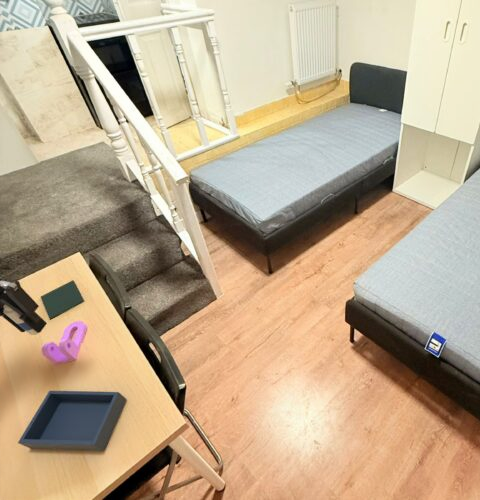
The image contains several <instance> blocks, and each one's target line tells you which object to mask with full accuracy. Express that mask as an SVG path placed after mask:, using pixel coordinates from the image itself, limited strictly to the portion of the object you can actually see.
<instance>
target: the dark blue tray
mask: <svg viewBox="0 0 480 500" xmlns="http://www.w3.org/2000/svg"><path fill="white" fill-rule="evenodd" d="M126 402H127V398H126V397H125V396H124V395H123V394H122V393H120V391H94V390H92V391H90V390H89V391H88V390H87V391H86V390H48V392H47V394H46V395H45V397H44V399H43V400H42V402H41V404H40V405H39V407H38V409H37V410H36V412H35V413H34V415H33V417H32V419H31V420H30V422H29V423H28V425H27V426H26V428H25V430H24V432H23V434H21V436H20V438H19V440H18V442H17V444H19V445H22V446H23V447H26V448H27V449H30V450H52V451H53V450H55V451H56V450H57V451H88V452H89V451H91V452H92V451H93V452H105V451H106V448H107V447H108V444H109V442H110V439H111V437H112V434H113V432H114V430H115V428H116V426H117V423H118V421H119V419H120V416H121V414H122V411H123V409H124V407H125V405H126Z"/></svg>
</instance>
